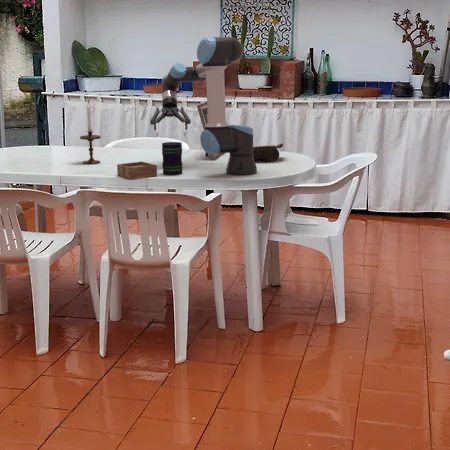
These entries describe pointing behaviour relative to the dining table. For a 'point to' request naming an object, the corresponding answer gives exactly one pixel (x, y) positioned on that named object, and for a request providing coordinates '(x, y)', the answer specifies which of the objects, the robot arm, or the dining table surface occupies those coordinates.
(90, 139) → the candlestick
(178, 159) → the storage jar
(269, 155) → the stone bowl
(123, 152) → the dining table surface
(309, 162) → the dining table surface
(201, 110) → the picture frame
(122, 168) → the wooden box
